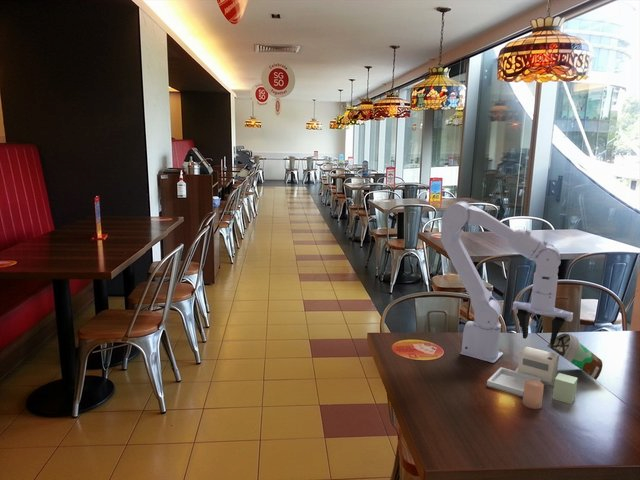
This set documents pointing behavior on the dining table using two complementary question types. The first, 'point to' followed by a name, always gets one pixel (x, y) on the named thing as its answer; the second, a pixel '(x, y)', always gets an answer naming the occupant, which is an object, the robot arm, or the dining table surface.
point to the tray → (510, 381)
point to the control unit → (539, 364)
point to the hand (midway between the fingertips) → (538, 340)
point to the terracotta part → (533, 394)
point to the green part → (565, 388)
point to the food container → (577, 354)
